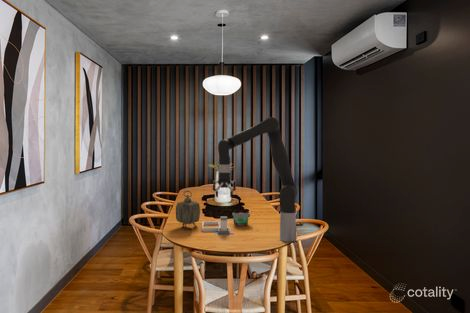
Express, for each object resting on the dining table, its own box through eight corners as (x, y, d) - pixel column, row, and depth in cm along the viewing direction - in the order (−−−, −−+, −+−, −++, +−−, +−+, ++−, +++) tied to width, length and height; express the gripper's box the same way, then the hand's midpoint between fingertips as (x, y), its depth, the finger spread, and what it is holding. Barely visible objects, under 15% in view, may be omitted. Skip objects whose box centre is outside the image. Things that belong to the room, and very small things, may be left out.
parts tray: (219, 225, 234) (219, 221, 234) (220, 232, 216) (220, 227, 216) (202, 225, 233) (202, 221, 233) (201, 233, 215) (201, 228, 215)
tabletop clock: (199, 228, 228) (200, 191, 226) (191, 231, 220) (191, 192, 219) (183, 224, 235) (183, 189, 234) (174, 227, 227) (174, 190, 226)
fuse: (226, 231, 215) (226, 216, 215) (227, 233, 211) (227, 217, 211) (220, 231, 215) (220, 216, 215) (220, 233, 211) (220, 217, 211)
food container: (233, 228, 227) (233, 214, 226) (231, 226, 233) (232, 212, 232) (251, 228, 229) (251, 213, 229) (249, 225, 235) (249, 211, 235)
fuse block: (232, 232, 218) (232, 227, 218) (233, 236, 210) (233, 231, 210) (214, 232, 217) (214, 228, 217) (214, 236, 209) (214, 231, 209)
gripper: (235, 171, 215) (234, 196, 216) (212, 170, 214) (212, 196, 215) (236, 172, 208) (235, 198, 209) (213, 172, 207) (212, 198, 208)
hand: (224, 197), depth 212 cm, fingers open, 8 cm apart
